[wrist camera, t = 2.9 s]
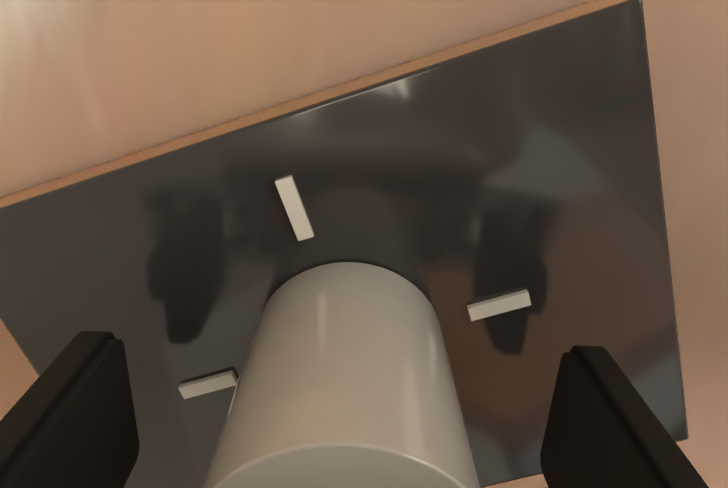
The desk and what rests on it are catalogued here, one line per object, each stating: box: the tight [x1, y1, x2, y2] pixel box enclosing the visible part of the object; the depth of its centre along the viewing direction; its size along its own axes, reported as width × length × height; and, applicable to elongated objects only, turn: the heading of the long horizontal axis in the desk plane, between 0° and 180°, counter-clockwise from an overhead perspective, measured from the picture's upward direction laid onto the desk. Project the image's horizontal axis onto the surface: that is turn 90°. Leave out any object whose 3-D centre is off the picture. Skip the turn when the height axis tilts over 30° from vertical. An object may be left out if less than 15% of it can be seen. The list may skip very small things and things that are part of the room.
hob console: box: [0, 0, 689, 488], centre depth 14 cm, size 15×11×2 cm
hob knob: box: [202, 262, 481, 488], centre depth 10 cm, size 4×4×6 cm
